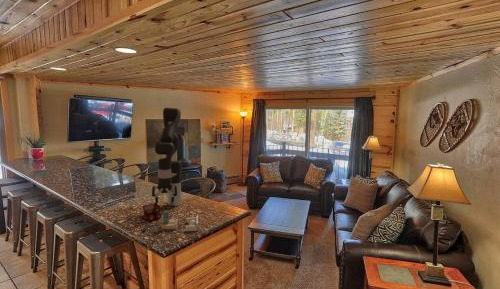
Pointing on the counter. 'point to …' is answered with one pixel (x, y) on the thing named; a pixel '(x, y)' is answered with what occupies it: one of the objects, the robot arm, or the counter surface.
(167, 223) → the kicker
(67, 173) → the counter surface
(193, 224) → the ball
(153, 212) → the toy fire truck
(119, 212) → the counter surface
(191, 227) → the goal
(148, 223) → the track
